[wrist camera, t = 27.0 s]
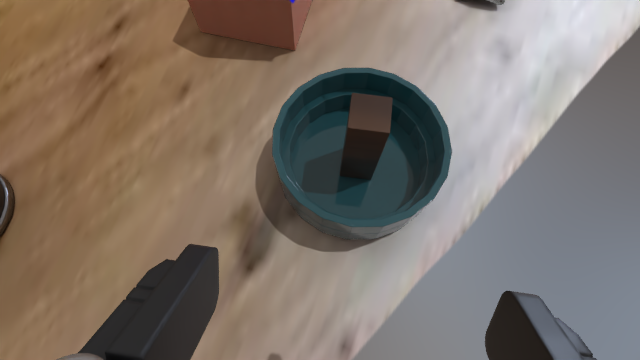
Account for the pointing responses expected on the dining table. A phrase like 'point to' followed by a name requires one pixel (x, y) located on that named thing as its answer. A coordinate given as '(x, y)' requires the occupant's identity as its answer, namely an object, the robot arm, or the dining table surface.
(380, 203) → the bowl
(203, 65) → the dining table surface
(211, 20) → the house
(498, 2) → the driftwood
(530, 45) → the dining table surface
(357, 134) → the brown rectangular block
